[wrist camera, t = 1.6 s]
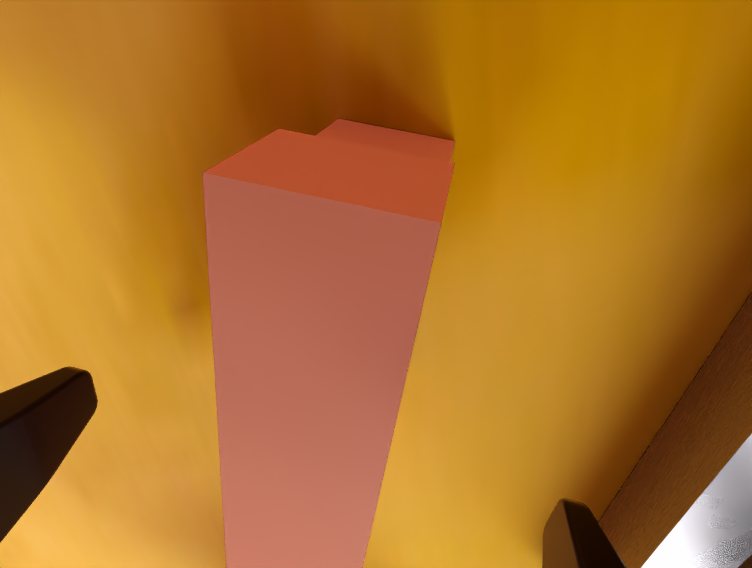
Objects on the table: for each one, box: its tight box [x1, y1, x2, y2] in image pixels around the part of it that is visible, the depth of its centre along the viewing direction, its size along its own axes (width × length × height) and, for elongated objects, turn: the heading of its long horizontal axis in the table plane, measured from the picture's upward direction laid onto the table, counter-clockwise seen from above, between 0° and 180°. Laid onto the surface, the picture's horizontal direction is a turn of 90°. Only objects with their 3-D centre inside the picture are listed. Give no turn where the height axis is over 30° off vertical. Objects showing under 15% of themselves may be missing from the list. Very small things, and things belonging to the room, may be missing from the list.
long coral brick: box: [203, 119, 455, 568], centre depth 11 cm, size 10×3×6 cm, turn 173°
